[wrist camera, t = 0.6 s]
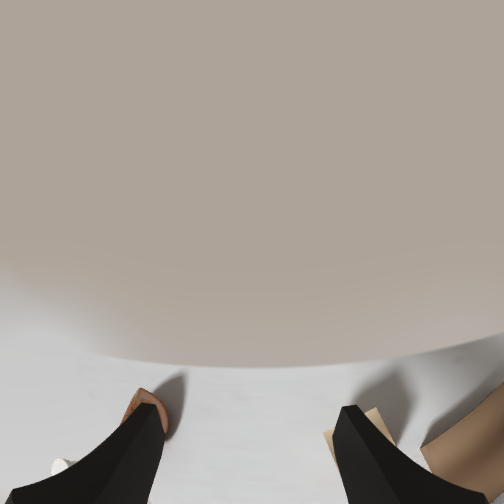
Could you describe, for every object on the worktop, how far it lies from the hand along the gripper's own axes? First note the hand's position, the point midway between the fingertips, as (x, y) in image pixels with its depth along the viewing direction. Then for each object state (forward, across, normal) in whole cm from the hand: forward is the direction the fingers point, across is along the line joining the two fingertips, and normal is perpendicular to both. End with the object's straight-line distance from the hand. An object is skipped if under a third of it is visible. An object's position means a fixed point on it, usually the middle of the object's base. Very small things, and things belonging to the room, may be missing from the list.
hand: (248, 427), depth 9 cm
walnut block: (0, -22, +12) cm, 25 cm away
